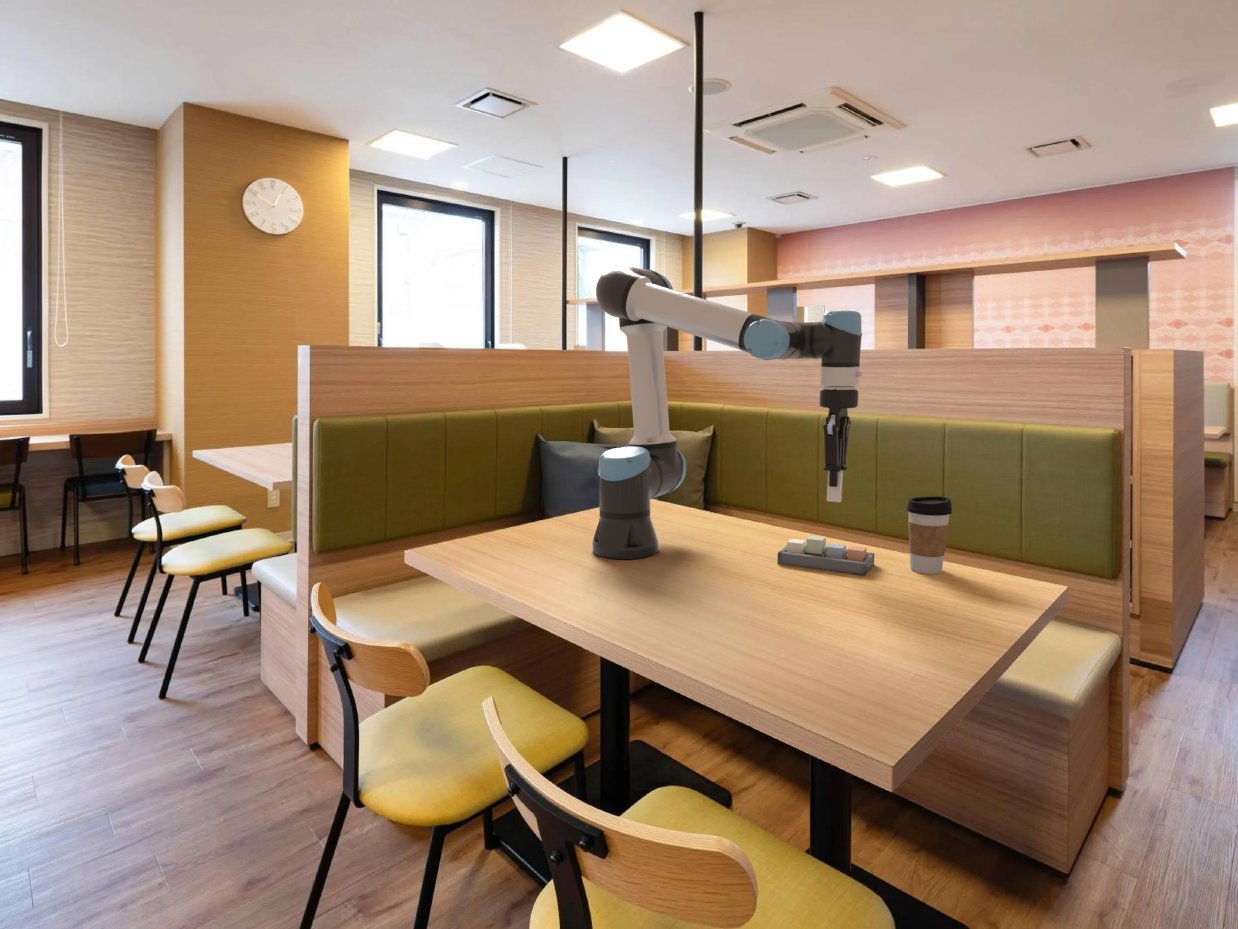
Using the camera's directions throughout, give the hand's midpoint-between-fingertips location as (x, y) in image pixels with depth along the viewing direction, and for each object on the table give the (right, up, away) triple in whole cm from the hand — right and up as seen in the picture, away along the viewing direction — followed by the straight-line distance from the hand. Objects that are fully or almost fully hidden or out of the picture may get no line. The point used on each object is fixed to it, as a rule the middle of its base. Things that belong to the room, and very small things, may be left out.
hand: (833, 501), depth 146 cm
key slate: (0, -12, 0) cm, 12 cm away
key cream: (-7, -12, +5) cm, 14 cm away
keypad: (-1, -13, +2) cm, 14 cm away
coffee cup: (+18, -14, -3) cm, 23 cm away
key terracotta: (+4, -13, -2) cm, 13 cm away
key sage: (-3, -11, +2) cm, 12 cm away
